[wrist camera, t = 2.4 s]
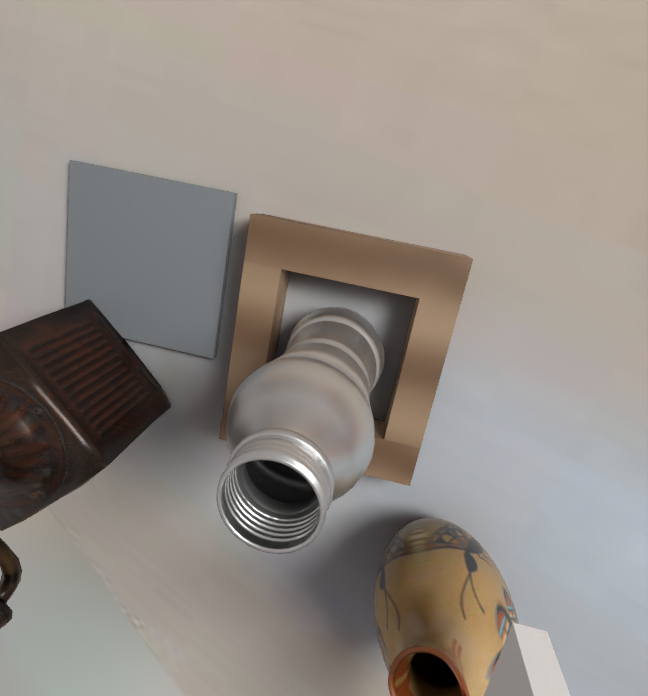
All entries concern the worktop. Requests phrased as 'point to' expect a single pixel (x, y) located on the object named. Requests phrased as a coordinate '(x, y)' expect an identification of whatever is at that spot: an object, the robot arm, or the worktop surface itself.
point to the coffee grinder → (64, 414)
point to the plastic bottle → (301, 432)
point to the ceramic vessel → (440, 611)
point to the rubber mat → (149, 255)
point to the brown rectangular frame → (363, 270)
